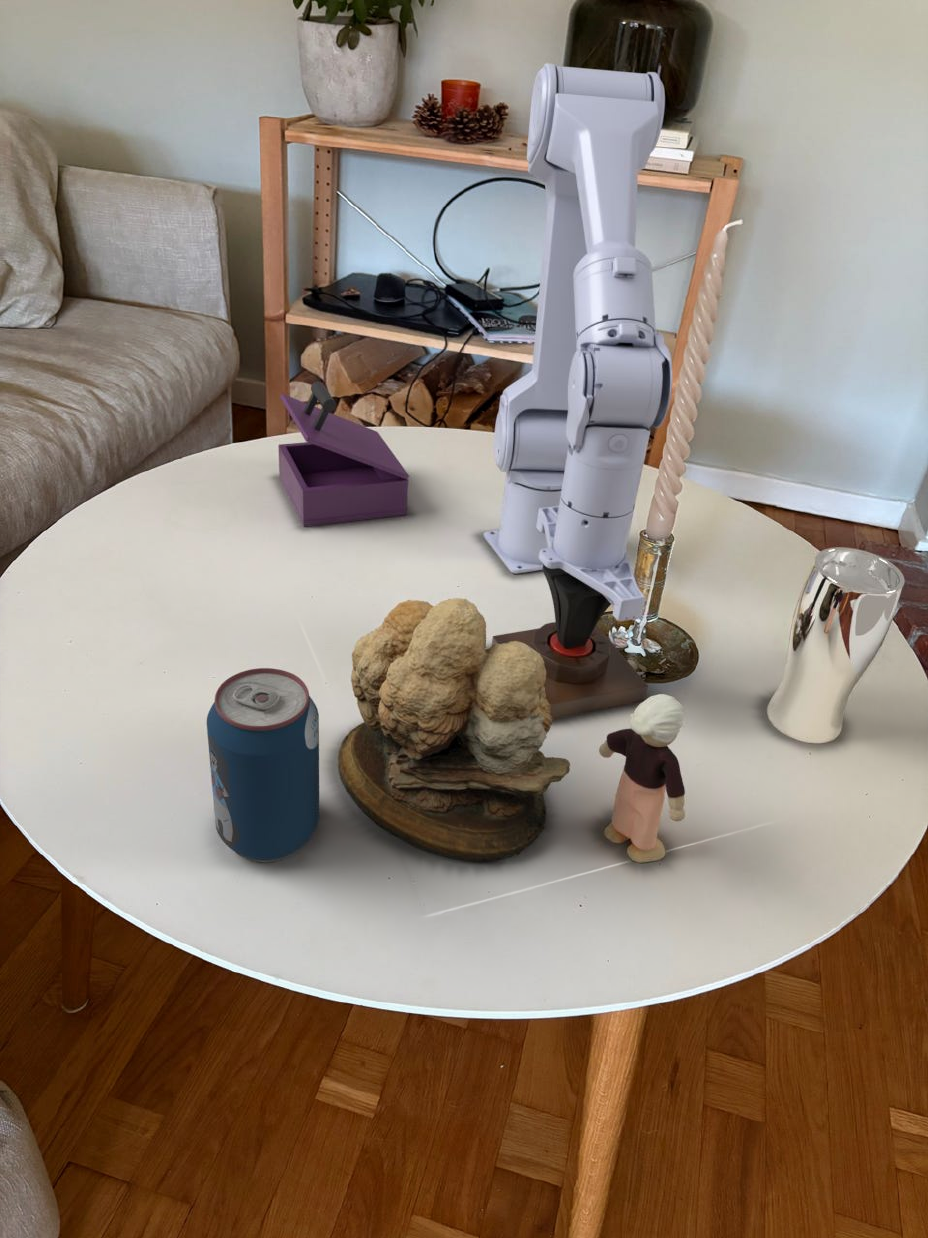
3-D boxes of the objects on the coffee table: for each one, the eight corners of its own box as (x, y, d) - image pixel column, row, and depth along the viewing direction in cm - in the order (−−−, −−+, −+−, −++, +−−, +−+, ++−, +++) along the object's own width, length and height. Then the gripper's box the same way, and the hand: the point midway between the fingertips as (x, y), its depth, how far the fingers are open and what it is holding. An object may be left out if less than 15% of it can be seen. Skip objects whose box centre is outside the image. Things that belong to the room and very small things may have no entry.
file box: (303, 526, 100) (302, 491, 98) (279, 478, 109) (278, 444, 106) (406, 515, 104) (408, 480, 102) (375, 468, 113) (376, 435, 110)
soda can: (336, 813, 68) (338, 680, 61) (287, 884, 62) (283, 747, 56) (251, 782, 69) (243, 650, 63) (196, 849, 64) (181, 712, 57)
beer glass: (853, 714, 82) (914, 565, 73) (835, 760, 77) (899, 605, 68) (773, 683, 85) (824, 536, 76) (751, 726, 79) (802, 573, 71)
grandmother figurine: (688, 851, 68) (731, 715, 60) (659, 882, 65) (701, 743, 58) (599, 794, 71) (630, 659, 64) (569, 821, 69) (597, 684, 62)
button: (577, 643, 84) (580, 627, 83) (596, 667, 81) (600, 651, 80) (540, 650, 83) (543, 633, 82) (559, 674, 80) (562, 658, 79)
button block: (589, 634, 88) (595, 602, 87) (644, 701, 81) (652, 668, 79) (490, 651, 85) (494, 618, 83) (538, 722, 78) (543, 689, 76)
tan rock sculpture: (589, 802, 71) (632, 612, 61) (504, 904, 62) (537, 704, 53) (397, 700, 78) (407, 517, 69) (298, 780, 70) (293, 584, 60)
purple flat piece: (305, 441, 95) (323, 405, 93) (279, 397, 103) (296, 363, 102) (407, 479, 102) (425, 446, 100) (375, 435, 110) (391, 404, 109)
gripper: (511, 463, 77) (495, 603, 85) (596, 554, 66) (568, 704, 74) (588, 456, 80) (565, 592, 87) (682, 542, 69) (646, 688, 77)
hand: (571, 643), depth 81 cm, fingers closed, pressing on button
